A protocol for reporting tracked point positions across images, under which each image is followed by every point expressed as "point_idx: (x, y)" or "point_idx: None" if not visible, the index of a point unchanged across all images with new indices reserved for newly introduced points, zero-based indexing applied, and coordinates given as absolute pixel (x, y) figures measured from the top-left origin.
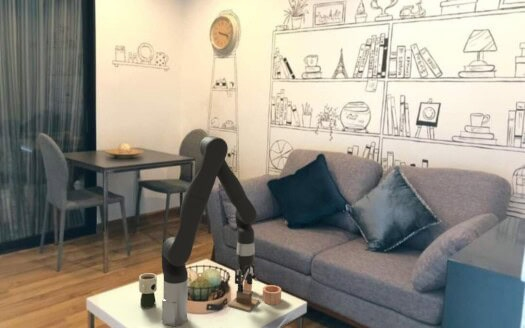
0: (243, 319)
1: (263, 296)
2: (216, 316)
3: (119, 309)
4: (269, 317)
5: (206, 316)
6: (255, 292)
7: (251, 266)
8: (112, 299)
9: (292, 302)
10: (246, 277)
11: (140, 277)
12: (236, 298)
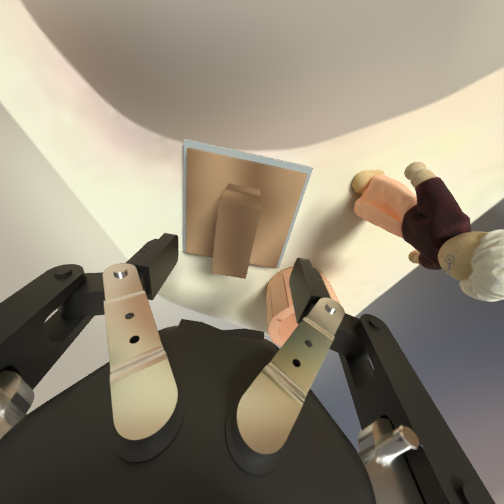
0: (140, 239)
1: (282, 289)
2: (83, 118)
3: None
4: (196, 301)
5: (40, 52)
6: (369, 227)
7: (372, 402)
8: None
9: None
10: (415, 223)
11: None
12: (226, 188)
